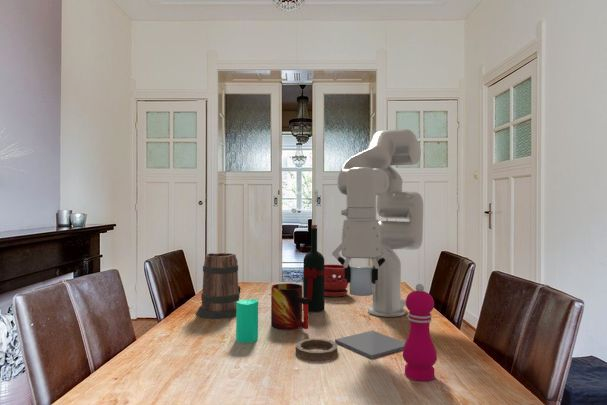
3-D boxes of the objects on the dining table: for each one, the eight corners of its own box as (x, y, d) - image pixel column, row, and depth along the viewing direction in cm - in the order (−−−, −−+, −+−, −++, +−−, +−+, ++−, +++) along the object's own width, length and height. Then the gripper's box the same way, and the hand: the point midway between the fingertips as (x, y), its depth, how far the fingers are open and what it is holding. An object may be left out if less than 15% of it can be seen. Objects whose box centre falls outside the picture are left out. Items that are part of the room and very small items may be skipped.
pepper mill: (398, 369, 92) (398, 281, 92) (429, 368, 93) (429, 280, 93) (409, 383, 85) (409, 287, 85) (442, 382, 85) (442, 287, 85)
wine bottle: (297, 312, 139) (298, 225, 139) (306, 305, 149) (306, 224, 149) (319, 314, 137) (320, 226, 137) (327, 307, 146) (327, 224, 147)
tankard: (233, 320, 129) (233, 258, 129) (185, 317, 133) (185, 256, 133) (258, 303, 152) (258, 250, 152) (217, 300, 156) (217, 248, 156)
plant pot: (351, 298, 161) (351, 268, 161) (318, 298, 161) (318, 268, 162) (348, 291, 174) (348, 263, 174) (317, 291, 175) (317, 263, 175)
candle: (261, 336, 114) (261, 294, 114) (252, 343, 108) (252, 298, 108) (242, 334, 116) (242, 292, 116) (232, 341, 110) (232, 297, 110)
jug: (375, 295, 104) (375, 268, 105) (352, 296, 104) (352, 268, 104) (365, 288, 114) (365, 264, 115) (344, 289, 114) (344, 264, 114)
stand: (325, 343, 109) (325, 336, 109) (345, 356, 99) (345, 349, 99) (289, 348, 105) (289, 341, 105) (306, 363, 95) (306, 355, 95)
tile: (372, 333, 118) (372, 330, 118) (410, 347, 106) (410, 344, 106) (335, 342, 110) (335, 339, 110) (371, 358, 98) (371, 355, 98)
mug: (307, 333, 117) (307, 292, 117) (265, 327, 123) (265, 287, 123) (319, 324, 126) (319, 286, 126) (280, 319, 131) (280, 282, 131)
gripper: (327, 215, 105) (327, 284, 105) (395, 215, 102) (395, 286, 102) (330, 213, 112) (330, 278, 112) (393, 214, 109) (393, 280, 109)
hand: (361, 281), depth 107 cm, fingers closed on jug, 6 cm apart
